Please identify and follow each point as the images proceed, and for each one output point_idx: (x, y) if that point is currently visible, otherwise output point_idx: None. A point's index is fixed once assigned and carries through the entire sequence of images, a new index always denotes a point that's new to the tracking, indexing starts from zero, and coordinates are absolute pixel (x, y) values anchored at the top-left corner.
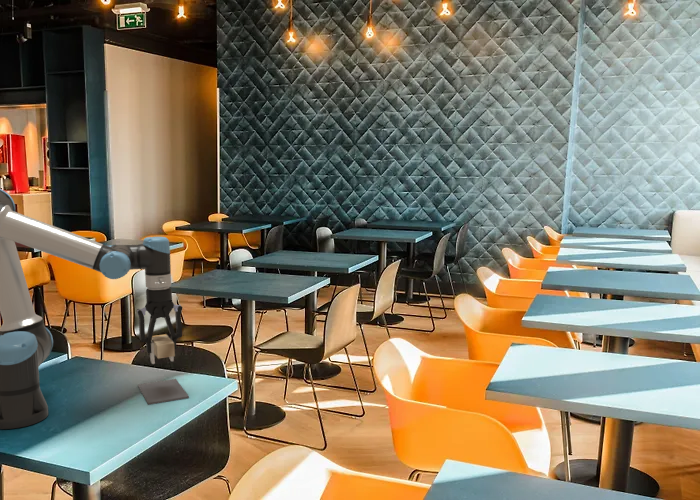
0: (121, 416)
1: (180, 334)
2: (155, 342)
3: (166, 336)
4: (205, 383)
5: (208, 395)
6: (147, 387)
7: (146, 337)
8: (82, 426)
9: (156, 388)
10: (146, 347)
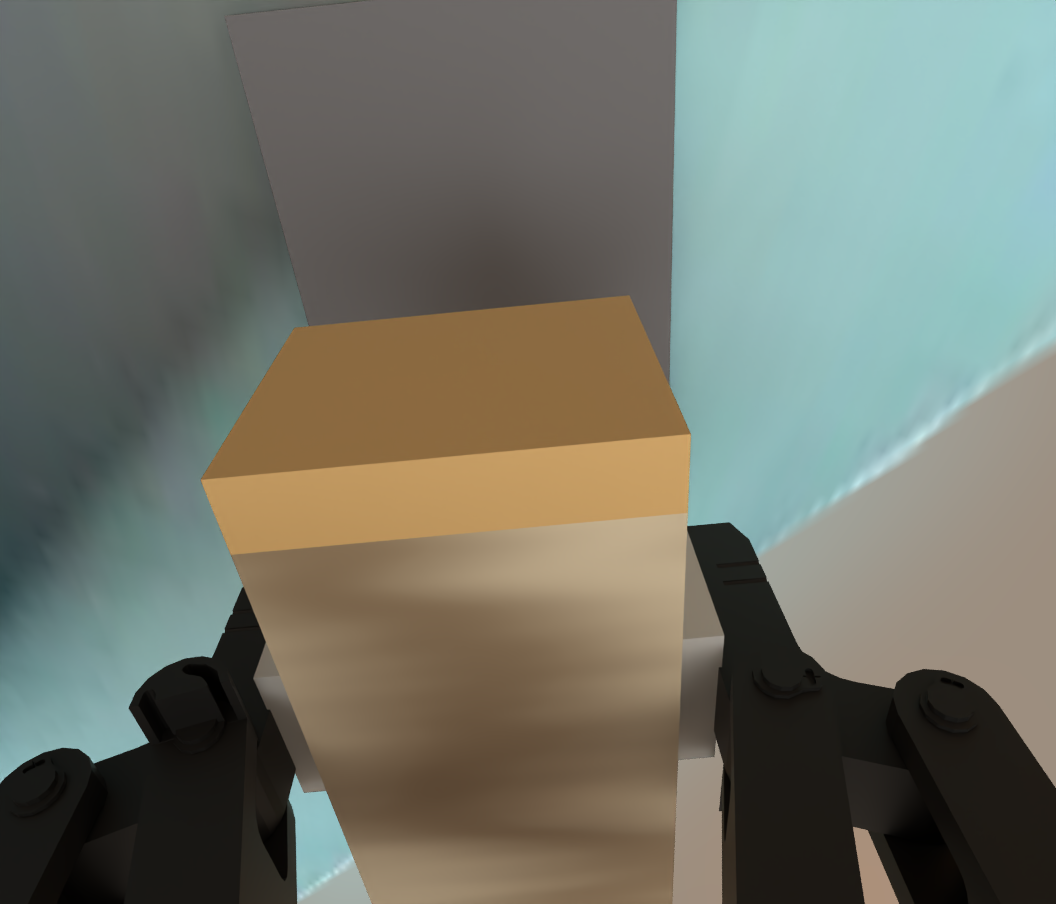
0: (212, 642)
1: (925, 845)
2: (380, 895)
3: (646, 638)
4: (912, 209)
5: (807, 494)
6: (345, 176)
7: (155, 813)
8: (10, 699)
9: (435, 243)
10: (225, 641)
